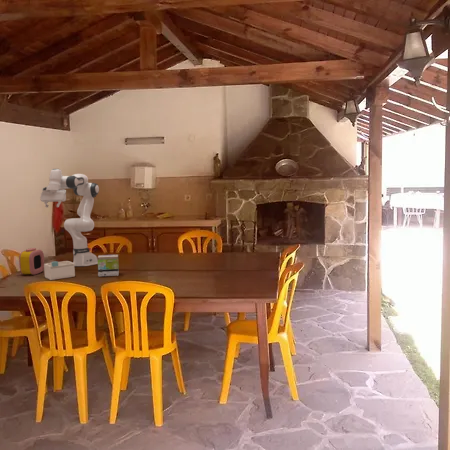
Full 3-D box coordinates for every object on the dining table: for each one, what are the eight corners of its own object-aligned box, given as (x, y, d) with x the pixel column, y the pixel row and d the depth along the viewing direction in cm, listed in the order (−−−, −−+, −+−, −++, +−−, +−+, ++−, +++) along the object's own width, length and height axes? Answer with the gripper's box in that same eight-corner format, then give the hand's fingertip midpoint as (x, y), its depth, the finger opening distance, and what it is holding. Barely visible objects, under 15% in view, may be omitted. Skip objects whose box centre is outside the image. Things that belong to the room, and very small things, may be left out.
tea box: (98, 277, 364) (97, 257, 363) (98, 274, 374) (97, 255, 373) (119, 275, 367) (118, 256, 366) (119, 273, 377) (118, 253, 375)
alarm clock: (32, 276, 373) (30, 250, 371) (19, 276, 375) (17, 250, 373) (45, 271, 391) (44, 247, 389) (33, 271, 393) (31, 246, 391)
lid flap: (73, 275, 369) (72, 259, 367) (74, 275, 367) (73, 259, 365) (50, 278, 359) (49, 262, 357) (51, 279, 357) (50, 262, 355)
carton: (68, 273, 380) (67, 260, 379) (75, 276, 369) (74, 263, 368) (44, 277, 369) (43, 263, 368) (50, 280, 358) (49, 266, 357)
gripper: (68, 190, 374) (66, 207, 371) (45, 190, 380) (43, 208, 377) (63, 187, 368) (61, 205, 365) (40, 188, 374) (37, 206, 371)
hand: (52, 207), depth 371 cm, fingers open, 8 cm apart
